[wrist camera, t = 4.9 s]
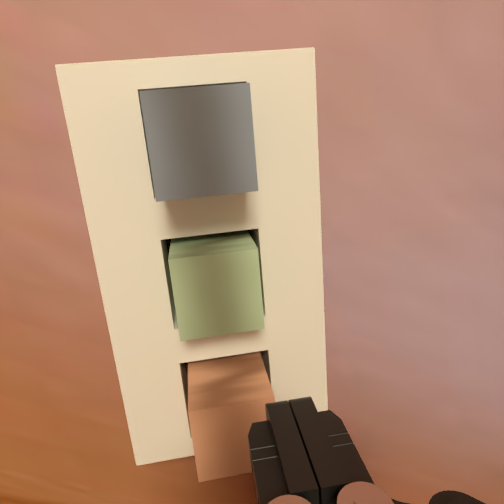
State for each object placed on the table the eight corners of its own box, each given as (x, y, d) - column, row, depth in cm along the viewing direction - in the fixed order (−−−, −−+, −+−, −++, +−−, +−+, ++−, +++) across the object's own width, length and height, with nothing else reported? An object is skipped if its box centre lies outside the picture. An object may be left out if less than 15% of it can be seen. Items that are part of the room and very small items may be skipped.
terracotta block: (258, 346, 30) (274, 397, 24) (263, 405, 31) (280, 467, 26) (187, 357, 29) (187, 412, 24) (196, 417, 31) (198, 482, 25)
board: (296, 59, 27) (314, 47, 23) (313, 398, 35) (328, 431, 31) (74, 74, 26) (54, 64, 22) (142, 427, 33) (136, 465, 29)
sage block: (244, 225, 29) (258, 248, 23) (250, 291, 31) (264, 328, 25) (171, 234, 28) (168, 259, 23) (181, 301, 30) (180, 341, 24)
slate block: (235, 93, 25) (249, 82, 19) (242, 178, 26) (258, 190, 21) (150, 100, 24) (139, 91, 19) (162, 186, 26) (156, 201, 20)
